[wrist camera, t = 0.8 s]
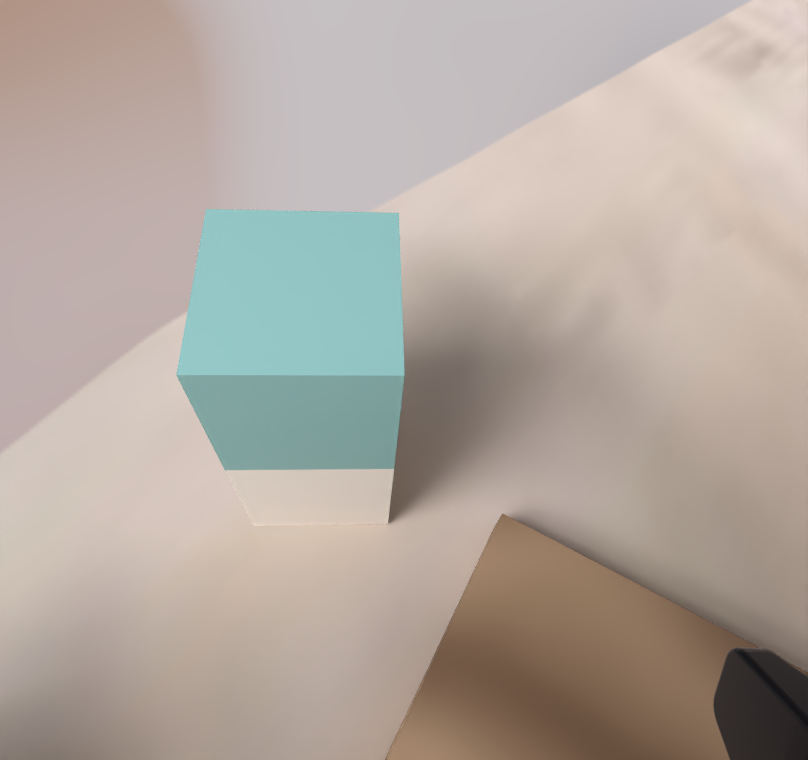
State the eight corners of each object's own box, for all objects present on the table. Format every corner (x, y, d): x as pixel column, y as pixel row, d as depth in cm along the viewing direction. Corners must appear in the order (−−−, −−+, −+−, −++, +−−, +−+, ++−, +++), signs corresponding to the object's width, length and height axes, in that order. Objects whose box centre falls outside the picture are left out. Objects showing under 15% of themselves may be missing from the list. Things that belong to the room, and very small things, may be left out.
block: (387, 524, 23) (404, 375, 14) (253, 525, 23) (176, 374, 14) (385, 407, 26) (398, 212, 16) (264, 406, 26) (206, 209, 16)
